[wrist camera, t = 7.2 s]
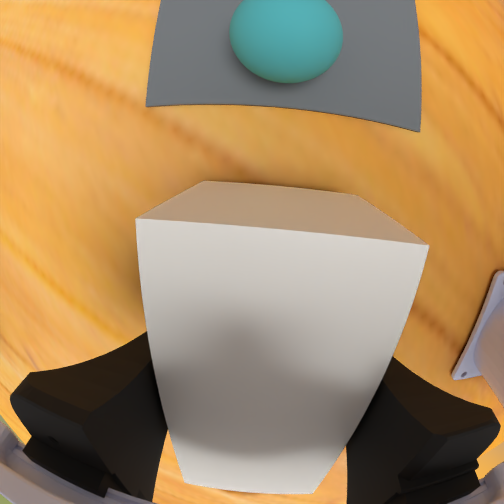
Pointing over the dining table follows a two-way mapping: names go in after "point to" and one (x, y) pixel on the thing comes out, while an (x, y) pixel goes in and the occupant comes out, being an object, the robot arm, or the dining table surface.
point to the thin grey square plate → (292, 94)
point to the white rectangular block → (270, 326)
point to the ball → (286, 38)
